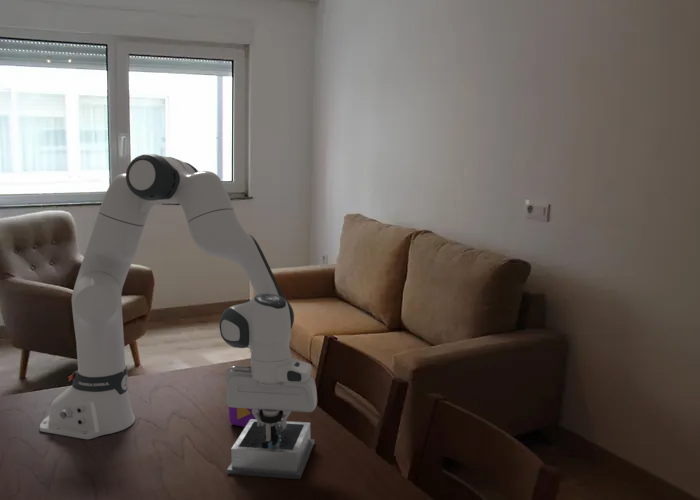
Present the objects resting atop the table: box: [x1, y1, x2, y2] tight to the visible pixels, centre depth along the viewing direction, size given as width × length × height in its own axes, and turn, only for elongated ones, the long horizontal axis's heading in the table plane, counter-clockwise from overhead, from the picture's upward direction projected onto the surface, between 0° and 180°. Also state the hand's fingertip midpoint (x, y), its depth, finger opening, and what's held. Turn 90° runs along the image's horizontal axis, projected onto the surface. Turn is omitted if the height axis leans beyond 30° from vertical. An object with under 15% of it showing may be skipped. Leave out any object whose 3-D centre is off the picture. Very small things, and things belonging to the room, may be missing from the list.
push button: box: [259, 409, 284, 449], centre depth 156 cm, size 7×5×10 cm
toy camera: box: [228, 406, 284, 428], centre depth 174 cm, size 11×14×10 cm
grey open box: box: [226, 419, 315, 480], centre depth 156 cm, size 16×17×6 cm
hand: (271, 426), depth 155 cm, fingers closed on push button, 3 cm apart
